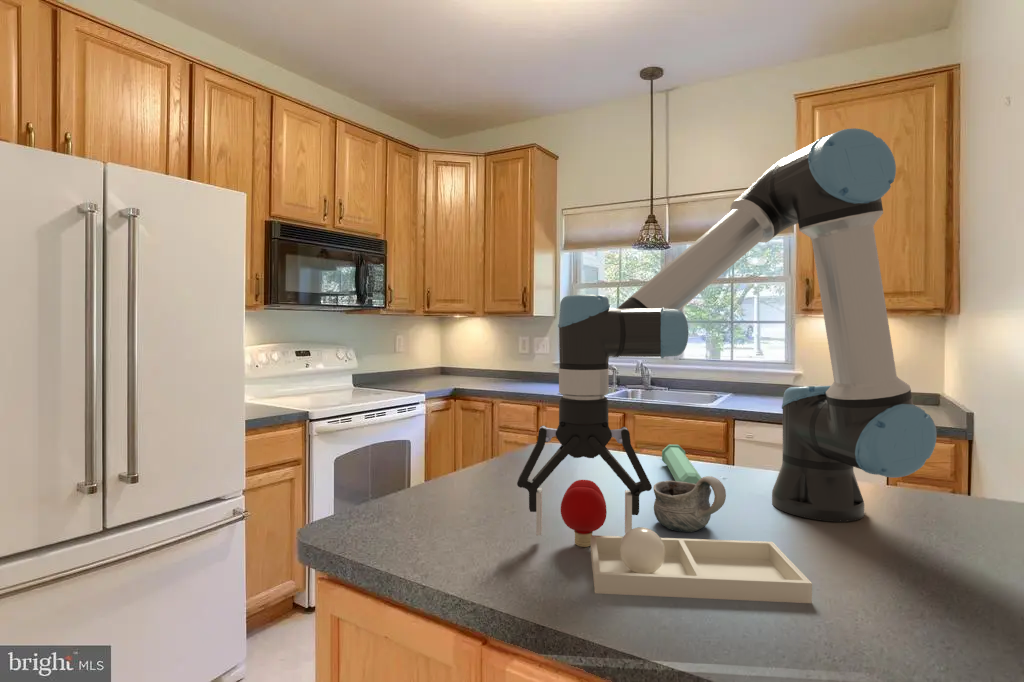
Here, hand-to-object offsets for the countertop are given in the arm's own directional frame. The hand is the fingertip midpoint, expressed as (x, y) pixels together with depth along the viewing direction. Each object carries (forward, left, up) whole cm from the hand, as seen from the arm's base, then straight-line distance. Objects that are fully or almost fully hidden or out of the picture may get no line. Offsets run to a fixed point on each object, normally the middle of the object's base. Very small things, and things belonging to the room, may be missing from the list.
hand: (583, 533), depth 85 cm
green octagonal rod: (-23, -41, -3) cm, 47 cm away
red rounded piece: (0, 0, -2) cm, 2 cm away
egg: (-8, +9, -2) cm, 12 cm away
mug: (-18, -9, -2) cm, 20 cm away
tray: (-14, +9, -2) cm, 17 cm away
